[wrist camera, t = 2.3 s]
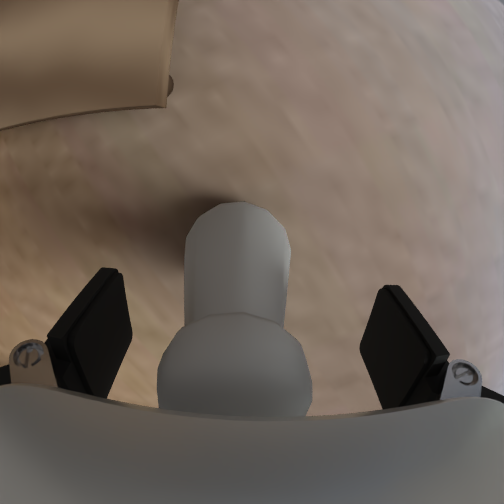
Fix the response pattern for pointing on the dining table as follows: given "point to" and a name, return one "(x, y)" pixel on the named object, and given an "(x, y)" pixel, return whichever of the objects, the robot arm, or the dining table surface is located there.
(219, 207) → the salt shaker
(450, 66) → the dining table surface
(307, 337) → the dining table surface
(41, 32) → the small wooden table
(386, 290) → the robot arm
